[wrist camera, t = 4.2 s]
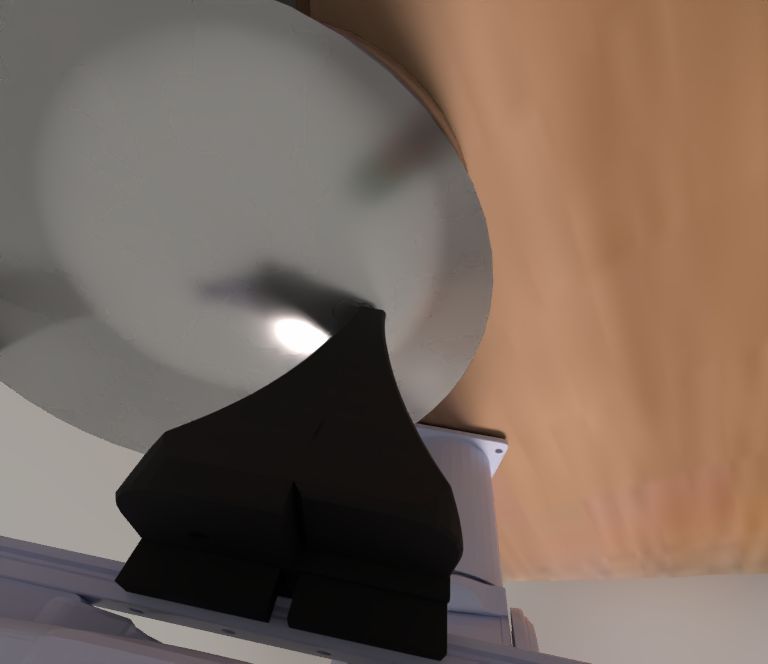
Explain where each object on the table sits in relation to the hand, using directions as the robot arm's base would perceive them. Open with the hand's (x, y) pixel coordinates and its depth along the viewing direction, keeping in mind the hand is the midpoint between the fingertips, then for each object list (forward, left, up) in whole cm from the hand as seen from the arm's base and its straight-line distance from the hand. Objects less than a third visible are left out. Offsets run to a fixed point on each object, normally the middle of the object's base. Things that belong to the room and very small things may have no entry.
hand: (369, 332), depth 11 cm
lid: (0, +6, +1) cm, 6 cm away
